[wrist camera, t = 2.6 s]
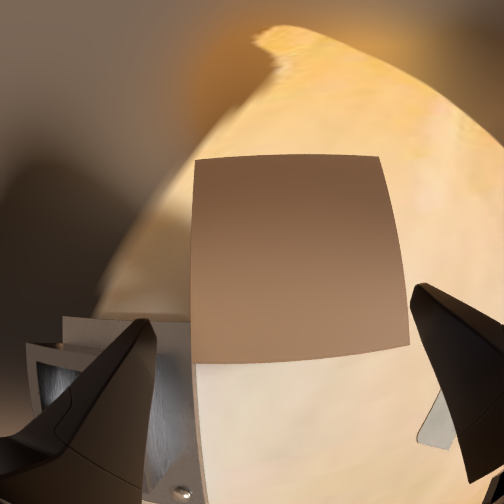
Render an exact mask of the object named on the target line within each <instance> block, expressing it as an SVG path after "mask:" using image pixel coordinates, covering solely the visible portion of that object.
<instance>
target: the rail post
mask: <svg viewBox="0 0 504 504" xmlns="http://www.w3.org/2000/svg"><path fill="white" fill-rule="evenodd" d="M190 313H191V352H192V363H199V364H244V363H271V362H288V361H301V360H312V359H322V358H331V357H340V356H348V355H355V354H362V353H368V352H374V351H380V350H386V349H392V348H397V347H402V346H407V345H410V338H409V320H408V307H407V296H406V287H405V279H404V271H403V264H402V258H401V251H400V245H399V240H398V234H397V229H396V224H395V219H394V214H393V210H392V205H391V201H390V197H389V193H388V189H387V185H386V181H385V177H384V174H383V170H382V167H381V163H380V160H379V157H375V156H357V155H326V154H288V155H257V156H238V157H224V158H212V159H201V160H195V170H194V185H193V203H192V226H191V265H190Z"/></svg>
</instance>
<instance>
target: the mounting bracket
mask: <svg viewBox="0 0 504 504" xmlns="http://www.w3.org/2000/svg"><path fill="white" fill-rule="evenodd" d="M455 435H456V431H455V428H454V425H453V421H452V418H451V415H450V412H449V409H448V407H447V404H446V401H445V398H444V395H443V393H442V390H440V392H439V394H438V396H437V399H436V401H435V403H434V405H433V407H432V408H431V410H430V412H429V414H428V416H427V418H426V420H425V422H424V423H423V425H422V427H421V429H420V430H419V433H418V436H417V442H418V443H420V444H424V445H428V446H432V447H436V448H441V449H445V450H449V448H450V446H451V444H452V442H453V440H454V438H455Z"/></svg>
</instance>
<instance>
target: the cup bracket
mask: <svg viewBox="0 0 504 504" xmlns="http://www.w3.org/2000/svg"><path fill="white" fill-rule="evenodd" d="M132 322H133V321H123V320H106V319H91V318H78V317H68V316H63V343H26V358H27V372H28V382H29V390H30V397H31V404H32V410H33V416H34V418H36V417H37V416H38V415H39V414H40V413H41V412H42V411H44V410H45V409H46V408H47V407H48V406H49V405H50V404H51V403H52V402H53V401H54V400H55V399H56V398H57V397H58V396H59V395H60V394H61V393H62V392H63V391H64V390H65V389H66V388H67V387H68V386H70V384H71V383H72V382H73V381H74V380H75V379H76V378H77V377H78V376H79V375H80V374H81V373H82V372H83V371H84V370H85V369H86V368H87V367H88V366H89V365H90V364H91V363H92V362H93V361H94V360H95V359H96V358H97V357H98V356H99V355H100V354H101V353H102V352H103V351H104V350H105V349H106V348H107V347H108V346H109V345H110V344H111V343H112V342H113V341H114V340H115V339H116V338H117V337H118V336H119V335H120V334H121V333H122V332H123V331H124V330H125V329H126V328H127V327H128V326H129V325H130V324H131V323H132ZM150 323H151V325H152V327H153V329H154V332H155V334H156V337H157V353H156V370H155V384H154V391H153V397H152V404H151V411H150V418H149V426H148V434H147V443H146V452H145V462H144V473H143V487H142V500H144V501H149V502H153V503H158V504H209V503H208V496H207V489H206V482H205V474H204V465H203V456H202V447H201V436H200V425H199V413H198V399H197V383H196V363H192V352H191V322H150Z"/></svg>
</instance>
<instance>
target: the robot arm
mask: <svg viewBox="0 0 504 504" xmlns="http://www.w3.org/2000/svg"><path fill="white" fill-rule="evenodd" d="M410 310H411V312H412V315H413V318H414V321H415V323H416V326H417V329H418V332H419V335H420V338H421V341H422V344H423V346H424V348H425V351H426V353H427V355H428V358H429V360H430V362H431V365H432V367H433V370H434V372H435V375H436V377H437V380H438V382H439V385H440V387H441V390H442V393H443V395H444V398H445V401H446V404H447V407H448V409H449V412H450V415H451V418H452V421H453V425H454V428H455V431H456V434H457V438H458V442H459V445H460V449H461V452H462V456H463V460H464V464H465V469H466V473H467V478H468V482H469V484H471V483H473V482H475V481H476V480H478V479H480V478H482V477H484V476H486V475H487V474H489V473H491V472H492V471H494V470H496V469H497V468H499V467H501V466H502V465H504V325H503V324H500V323H499V322H497V321H496V320H494V319H492V318H490V317H489V316H487V315H485V314H483V313H482V312H480V311H478V310H476V309H474V308H473V307H471V306H469V305H467V304H465V303H463V302H462V301H460V300H458V299H456V298H454V297H452V296H451V295H449V294H447V293H445V292H443V291H441V290H439V289H437V288H435V287H433V286H431V285H430V284H428V283H420V284H417V285H416V286H415V287H414V290H413V294H412V297H411V300H410ZM156 353H157V337H156V334H155V332H154V329H153V327H152V325H151V323H150V321H149V320H148V319H147V318H139V319H136V320H134V321H133V322H132V323H131V324H130V325H129V326H128V327H127V328H126V329H125V330H124V331H123V332H122V333H121V334H120V335H119V336H118V337H117V338H116V339H115V340H114V341H113V342H112V343H111V344H110V345H109V346H108V347H107V348H106V349H105V350H104V351H103V352H102V353H101V354H100V355H99V356H98V357H97V358H96V359H95V360H94V361H93V362H92V363H91V364H90V365H89V366H88V367H87V368H86V369H85V370H84V371H83V372H82V373H81V374H80V375H79V376H78V377H77V378H76V379H75V380H74V381H73V382H72V383H71V384H70V386H68V387H67V388H66V389H65V390H64V391H63V392H62V393H61V394H60V395H59V396H58V397H57V398H56V399H55V400H54V401H53V402H52V403H51V404H50V405H49V406H48V407H47V408H46V409H45V410H44V411H42V412H41V413H40V414H39V415H38V416H37V417H36V418H34V419H33V420H32V421H31V422H30V423H29V424H28V425H27V426H25V427H24V428H23V429H22V430H21V431H19V432H18V433H16V434H14V435H11V436H8V437H1V438H0V504H142V487H143V473H144V462H145V452H146V443H147V434H148V426H149V418H150V411H151V404H152V397H153V391H154V384H155V370H156ZM482 504H504V470H502V471H501V472H500V473H498V474H497V475H496V476H495V477H493V478H492V480H491V482H490V485H489V488H488V490H487V493H486V495H485V498H484V500H483V502H482Z"/></svg>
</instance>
